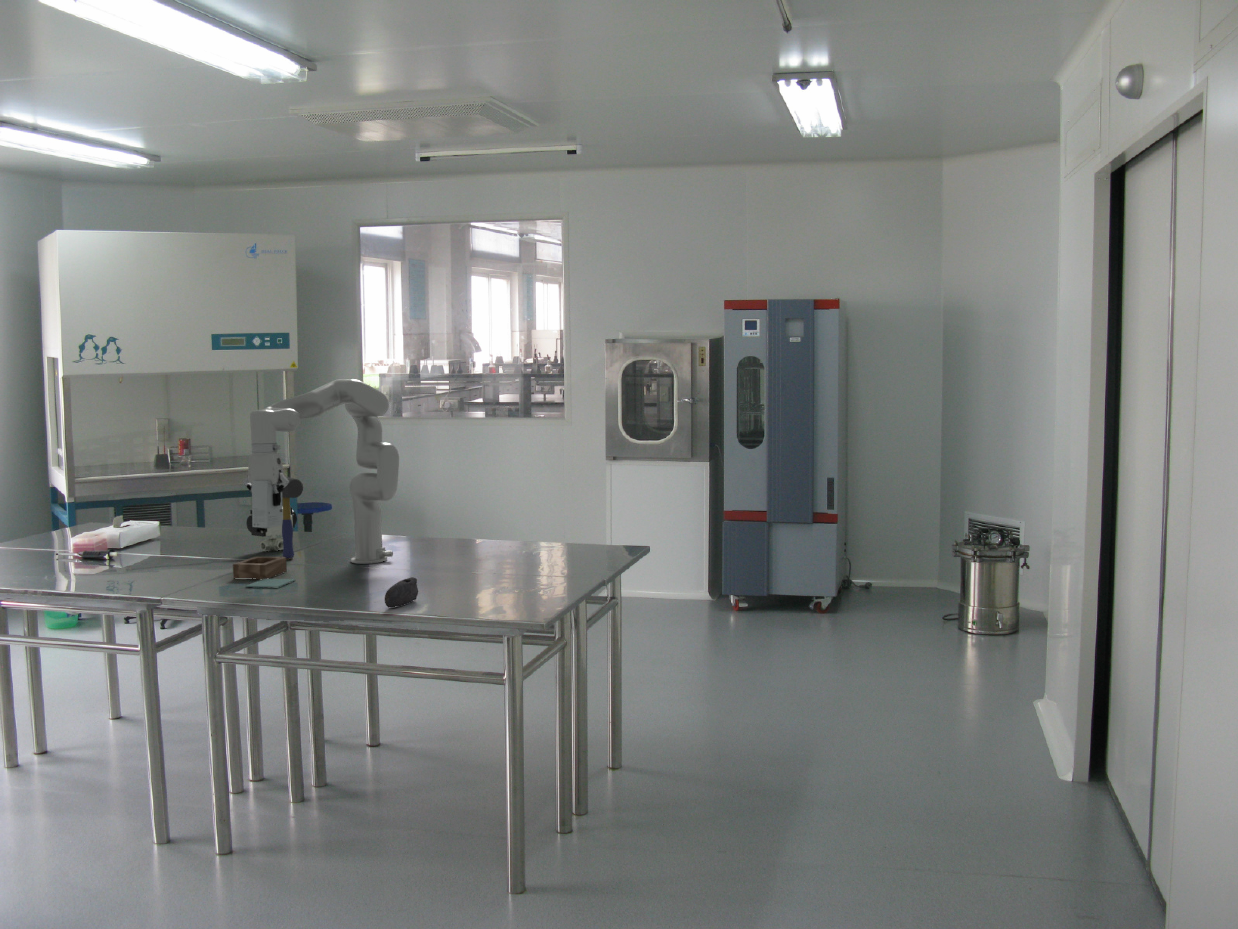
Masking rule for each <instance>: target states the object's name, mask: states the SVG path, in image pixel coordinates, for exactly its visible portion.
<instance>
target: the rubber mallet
mask: <svg viewBox="0 0 1238 929" xmlns="http://www.w3.org/2000/svg"><path fill="white" fill-rule="evenodd" d="M285 477H286V478H287V479H288V480H289V483H288V485H287V486H286V487H285V488H284V489H283V491H282V506H283V524H282V534H281V536H282V537H281V538H283V551H282V557H286V561H289V559H291V560H293V558H294V557H295V552H294V544H293V543H294V540H293V537H294V528H293V527H292V521H291V515H290V507H291V502H290V501H291V499H294V498H298V497H300V496H301V495H302V494H303V491H304V486H303V483H302V481H301V480H300V479H298V478H294V477H287V476H285Z"/></svg>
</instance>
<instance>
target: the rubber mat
mask: <svg viewBox="0 0 1238 929" xmlns="http://www.w3.org/2000/svg"><path fill="white" fill-rule="evenodd" d="M293 581H295V582H296V579H293V578H291V579H290V578H289V579H288V578H270V579H262V580H256V581H254V582H252V583H250V584H247V585H245V588H246V587H280V586H282V585H285V584H287V583H289V582H292V583H294V582H293ZM285 586H286V585H285Z"/></svg>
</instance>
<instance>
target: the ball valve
mask: <svg viewBox="0 0 1238 929" xmlns="http://www.w3.org/2000/svg"><path fill="white" fill-rule="evenodd" d="M249 512H250V514H249V516H248V517H247V519H246V528H247V529H248V531H249V532H250V533H251V536H256V537H269V538H266V539H263V540H262V541H260V544H259V547H260V550H261V551H262V552H263V551H264V552H266V551H268V552H271V551H275V552H279V551H278V550H280V551H282V550H283V537H281V536H282V525H279V526H275V527H271V528H259V527H252V509H251V510H250V511H249ZM290 515H291V521H292V527H293V529H294V528H295V527H296V525H297V522H298V517H297V516H298V515H297V514H296V512H295V510H293V506H290ZM282 518H283V505H282ZM277 536H278V537H277Z"/></svg>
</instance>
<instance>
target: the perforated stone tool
mask: <svg viewBox="0 0 1238 929" xmlns="http://www.w3.org/2000/svg"><path fill="white" fill-rule="evenodd" d="M417 583H418V579H417V578H416V577H408V578H405V579H402V580H400V581H398V582H396V583H395V584H392V586H390V587H389V588H388V589H387V590H386V592H385V594H384V603H385V606H386V607H387V608H389V607H395V606H400V607H402V606H401V605H404V604H406V605H408V604H407V603H409V602H410V603H412V602H414V601H416V600H417V597H418V594H419V588H418V584H417ZM413 600H414V601H413ZM410 603H409V604H410ZM404 606H405V605H404Z"/></svg>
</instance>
